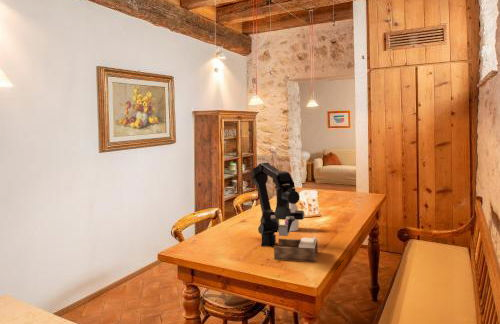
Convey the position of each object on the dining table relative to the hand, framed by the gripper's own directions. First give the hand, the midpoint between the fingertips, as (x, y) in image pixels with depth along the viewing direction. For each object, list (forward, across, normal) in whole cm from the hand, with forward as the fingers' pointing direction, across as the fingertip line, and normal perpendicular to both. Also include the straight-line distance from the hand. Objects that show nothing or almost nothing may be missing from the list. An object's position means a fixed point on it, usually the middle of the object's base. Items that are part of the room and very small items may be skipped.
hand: (283, 232), depth 172 cm
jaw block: (+1, 0, 0) cm, 1 cm away
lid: (+5, +11, 0) cm, 12 cm away
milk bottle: (+11, -2, +39) cm, 41 cm away
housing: (+11, +6, 0) cm, 12 cm away
